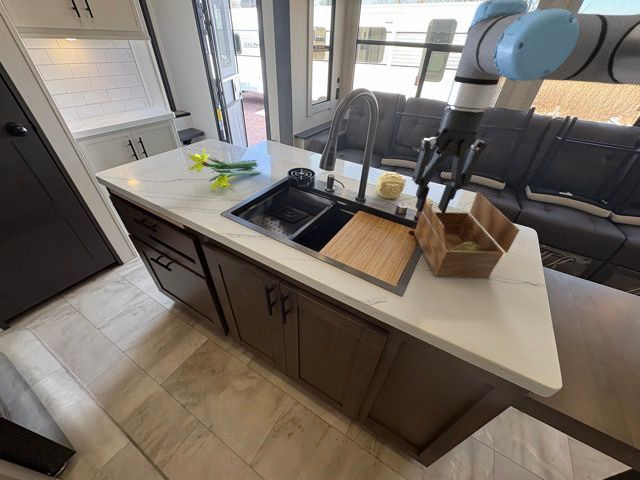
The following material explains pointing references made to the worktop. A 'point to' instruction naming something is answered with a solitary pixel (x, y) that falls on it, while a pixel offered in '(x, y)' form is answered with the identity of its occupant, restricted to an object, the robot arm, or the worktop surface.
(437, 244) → the wooden box
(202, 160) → the daffodil flowers
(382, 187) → the sculpture
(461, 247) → the potato
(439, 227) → the flap
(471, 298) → the worktop surface
